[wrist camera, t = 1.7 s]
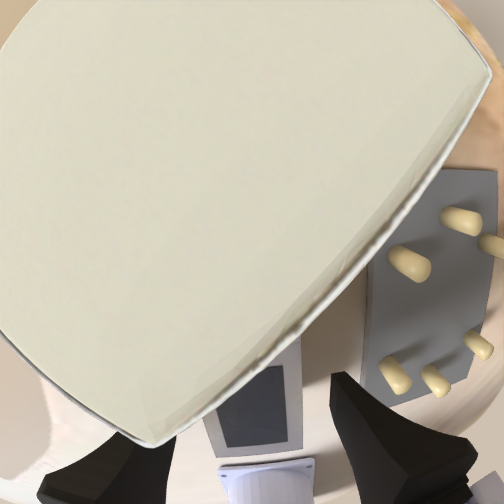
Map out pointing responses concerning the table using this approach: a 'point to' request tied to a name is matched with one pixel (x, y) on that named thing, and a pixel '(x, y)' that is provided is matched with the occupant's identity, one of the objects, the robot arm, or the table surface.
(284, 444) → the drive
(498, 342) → the table surface
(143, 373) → the skincare box
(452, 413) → the table surface
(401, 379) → the grey peg board
